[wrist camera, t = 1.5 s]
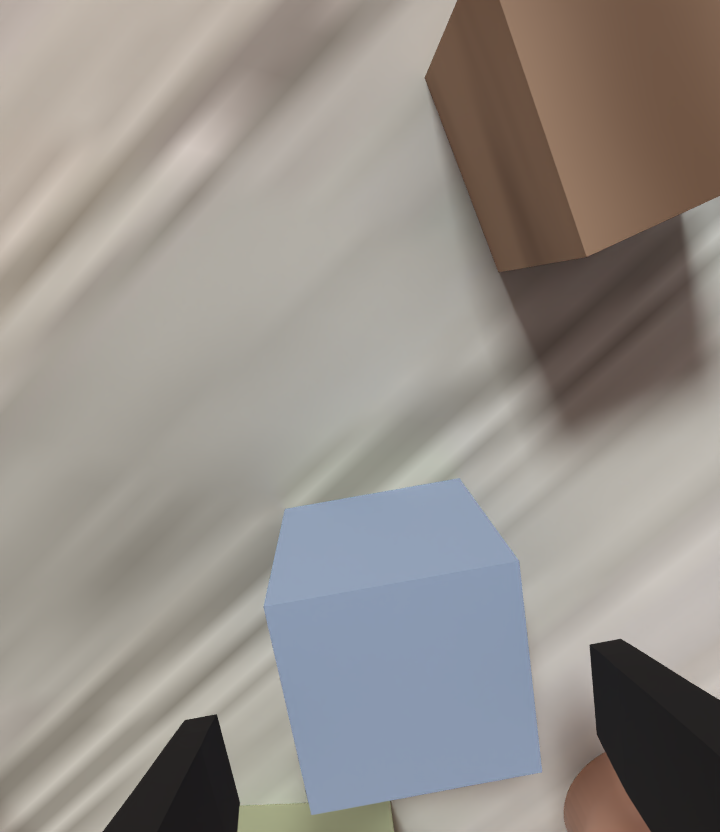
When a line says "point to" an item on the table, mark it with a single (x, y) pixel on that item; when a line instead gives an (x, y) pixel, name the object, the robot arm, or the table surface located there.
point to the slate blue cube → (401, 646)
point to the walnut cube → (579, 118)
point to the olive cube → (315, 818)
